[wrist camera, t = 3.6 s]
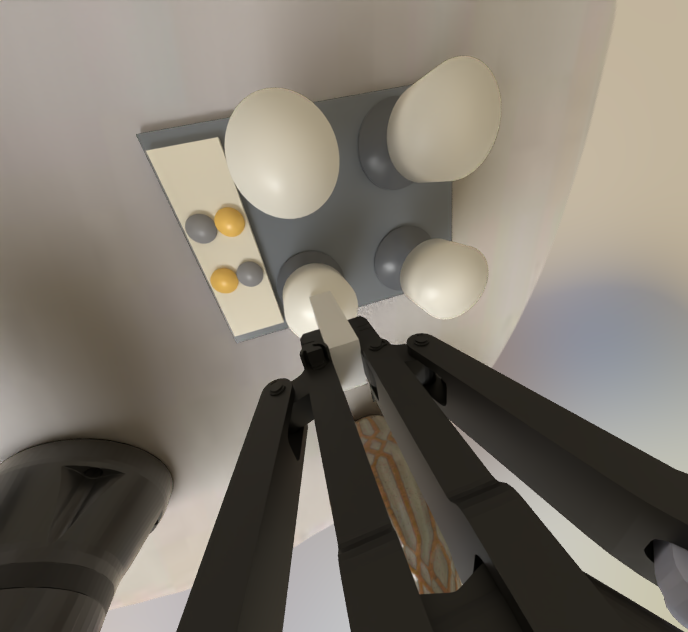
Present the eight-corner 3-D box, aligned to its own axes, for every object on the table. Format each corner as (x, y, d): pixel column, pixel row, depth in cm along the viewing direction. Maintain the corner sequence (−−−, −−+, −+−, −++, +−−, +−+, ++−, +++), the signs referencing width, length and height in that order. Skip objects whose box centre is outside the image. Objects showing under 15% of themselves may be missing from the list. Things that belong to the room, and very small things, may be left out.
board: (237, 340, 24) (235, 348, 23) (140, 136, 16) (128, 131, 15) (447, 277, 27) (456, 282, 26) (448, 80, 19) (460, 72, 18)
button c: (392, 301, 23) (421, 328, 18) (386, 243, 20) (417, 257, 16) (445, 285, 23) (485, 307, 19) (445, 227, 21) (491, 237, 17)
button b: (255, 220, 17) (250, 229, 13) (223, 126, 15) (203, 98, 10) (329, 202, 18) (348, 206, 14) (310, 110, 15) (326, 78, 11)
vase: (311, 411, 30) (352, 637, 15) (413, 384, 32) (539, 554, 17) (326, 477, 36) (366, 687, 21) (411, 450, 38) (503, 620, 23)
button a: (291, 321, 23) (296, 351, 19) (273, 266, 21) (273, 286, 16) (346, 305, 24) (363, 330, 19) (334, 250, 21) (351, 265, 17)
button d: (380, 190, 18) (414, 190, 14) (369, 99, 16) (407, 64, 12) (444, 175, 19) (496, 170, 15) (444, 85, 17) (506, 48, 12)
